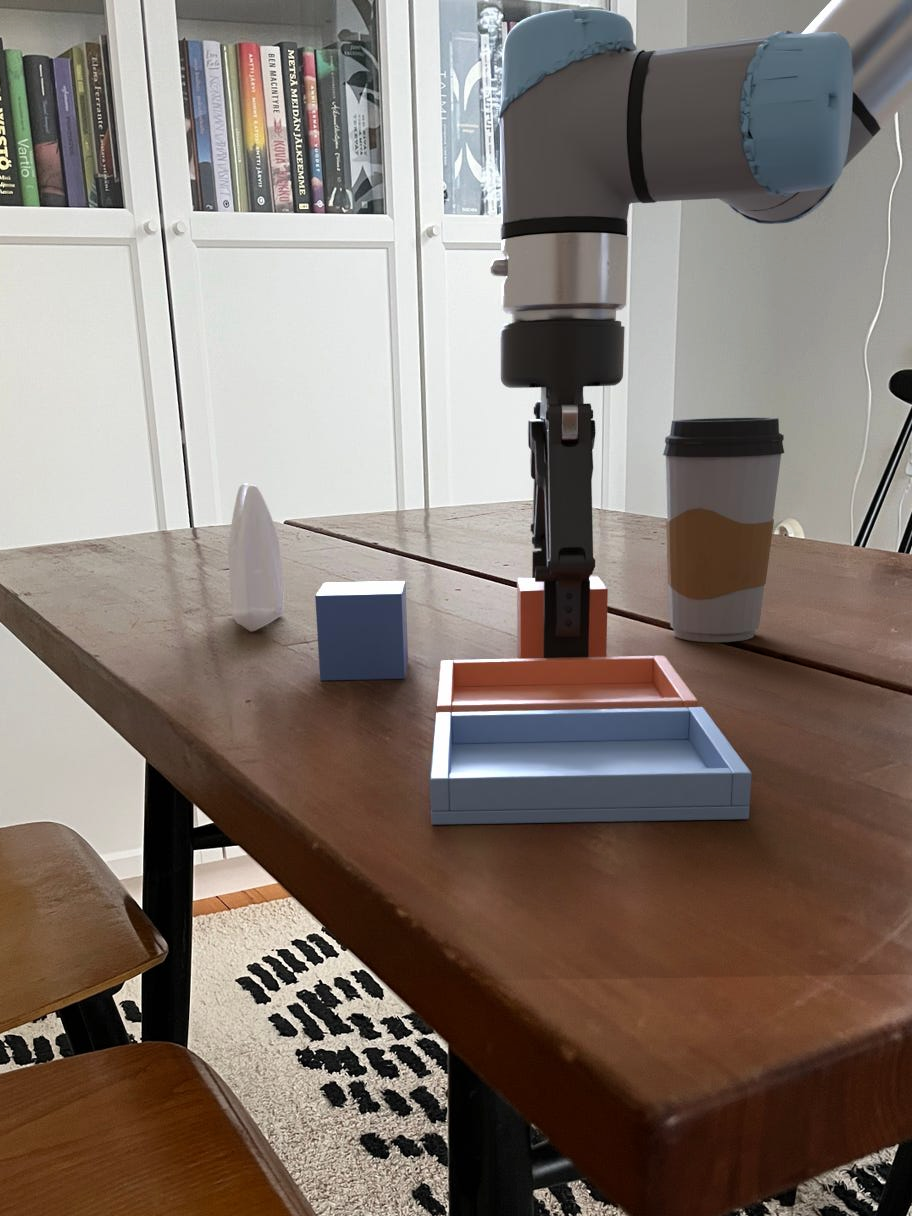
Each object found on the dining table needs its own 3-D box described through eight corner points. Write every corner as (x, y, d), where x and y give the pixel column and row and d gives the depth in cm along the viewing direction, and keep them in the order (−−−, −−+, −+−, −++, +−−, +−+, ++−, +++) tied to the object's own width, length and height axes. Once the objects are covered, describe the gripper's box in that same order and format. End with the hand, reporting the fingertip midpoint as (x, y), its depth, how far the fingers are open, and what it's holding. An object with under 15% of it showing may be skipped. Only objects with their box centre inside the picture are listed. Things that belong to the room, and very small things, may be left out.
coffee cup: (788, 629, 94) (803, 416, 89) (747, 649, 87) (760, 421, 82) (684, 621, 98) (692, 418, 93) (637, 639, 92) (643, 422, 87)
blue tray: (701, 746, 65) (703, 706, 64) (749, 819, 54) (752, 772, 53) (436, 751, 65) (435, 712, 64) (431, 825, 54) (430, 778, 54)
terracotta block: (597, 657, 86) (599, 576, 84) (606, 674, 81) (607, 588, 79) (517, 659, 87) (517, 578, 85) (520, 676, 81) (520, 590, 79)
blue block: (408, 661, 87) (405, 580, 85) (404, 679, 82) (401, 593, 80) (328, 663, 87) (324, 582, 85) (320, 680, 82) (315, 595, 80)
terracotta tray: (663, 689, 77) (665, 655, 76) (696, 739, 66) (698, 700, 65) (441, 694, 77) (440, 660, 77) (437, 744, 66) (436, 705, 66)
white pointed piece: (286, 635, 97) (277, 486, 93) (232, 638, 97) (219, 488, 93) (284, 610, 108) (276, 476, 104) (235, 612, 108) (224, 478, 104)
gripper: (495, 327, 88) (496, 630, 96) (507, 308, 65) (507, 710, 72) (603, 324, 88) (595, 628, 95) (653, 305, 65) (638, 708, 72)
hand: (557, 664), depth 84 cm, fingers open, 13 cm apart
